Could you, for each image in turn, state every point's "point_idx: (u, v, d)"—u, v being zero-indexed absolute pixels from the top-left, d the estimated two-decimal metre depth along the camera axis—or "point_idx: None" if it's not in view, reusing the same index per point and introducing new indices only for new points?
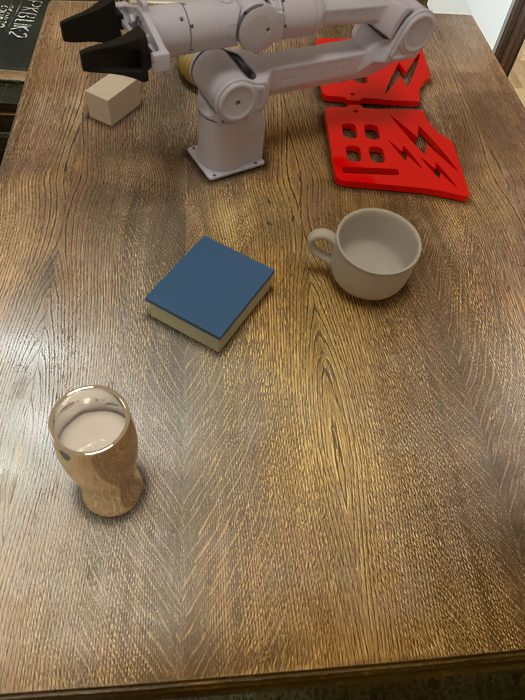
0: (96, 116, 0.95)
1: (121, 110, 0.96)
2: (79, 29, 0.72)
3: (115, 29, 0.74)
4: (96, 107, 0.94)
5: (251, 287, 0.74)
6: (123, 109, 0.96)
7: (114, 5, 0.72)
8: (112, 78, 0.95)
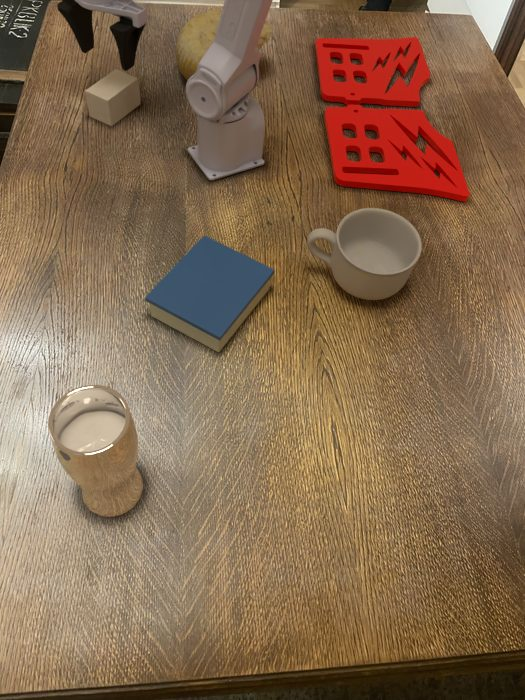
0: (96, 116, 0.95)
1: (121, 110, 0.96)
2: None
3: None
4: (96, 107, 0.94)
5: (251, 287, 0.74)
6: (123, 109, 0.96)
7: None
8: (112, 78, 0.95)
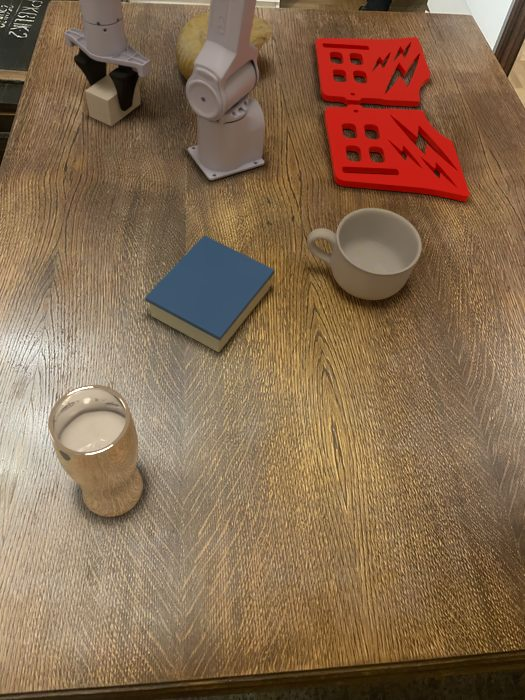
0: (96, 116, 0.95)
1: (121, 110, 0.96)
2: None
3: None
4: (96, 107, 0.94)
5: (251, 287, 0.74)
6: None
7: None
8: None
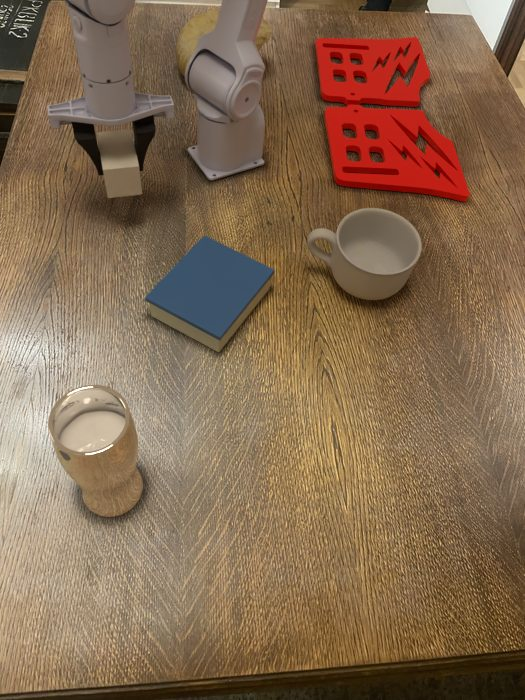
0: (119, 193, 0.77)
1: None
2: (136, 153, 0.77)
3: (134, 126, 0.74)
4: (120, 181, 0.76)
5: (251, 287, 0.74)
6: None
7: None
8: (108, 142, 0.77)
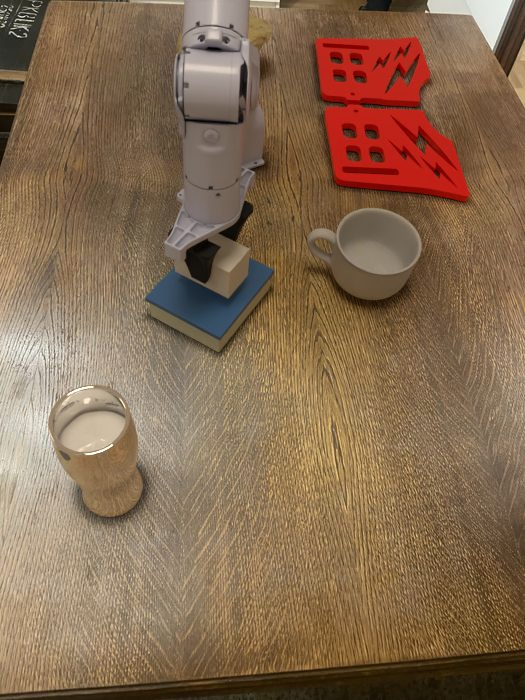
0: (235, 287, 0.70)
1: None
2: None
3: None
4: (237, 274, 0.69)
5: (251, 287, 0.74)
6: None
7: None
8: None
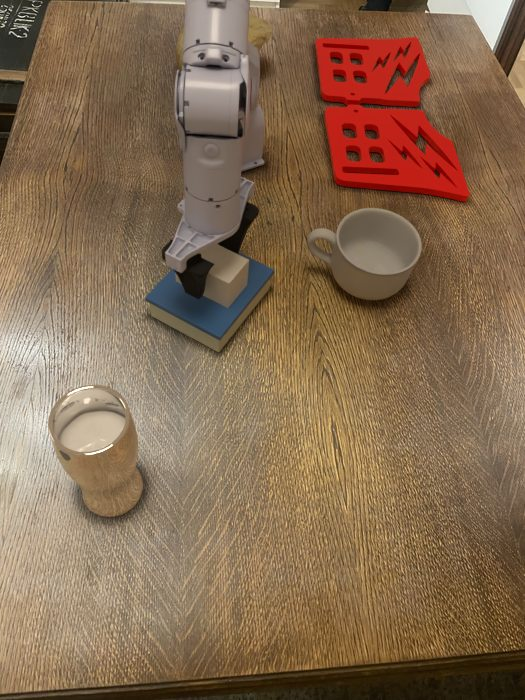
0: (235, 297, 0.72)
1: None
2: (228, 243, 0.72)
3: None
4: (237, 285, 0.71)
5: (251, 287, 0.74)
6: None
7: None
8: None
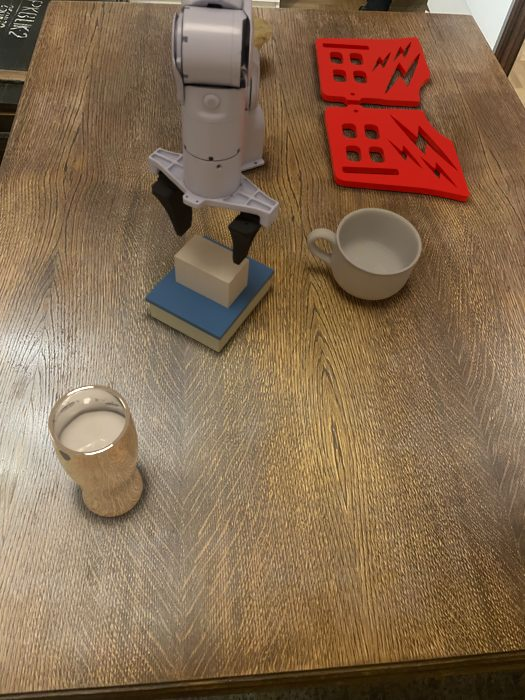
0: (235, 297, 0.72)
1: None
2: (184, 218, 0.67)
3: None
4: (237, 285, 0.71)
5: (251, 287, 0.74)
6: None
7: (170, 195, 0.63)
8: (198, 257, 0.70)
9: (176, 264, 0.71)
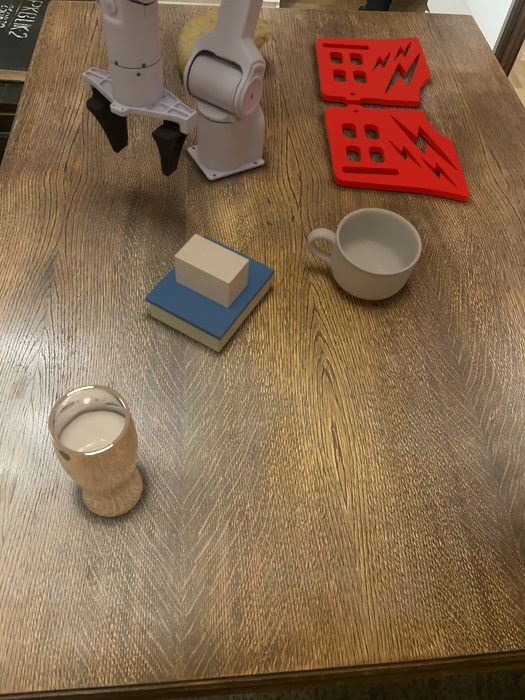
0: (235, 297, 0.72)
1: None
2: (120, 135, 0.75)
3: None
4: (237, 285, 0.71)
5: (251, 287, 0.74)
6: None
7: (103, 109, 0.70)
8: (198, 257, 0.70)
9: (176, 264, 0.71)
